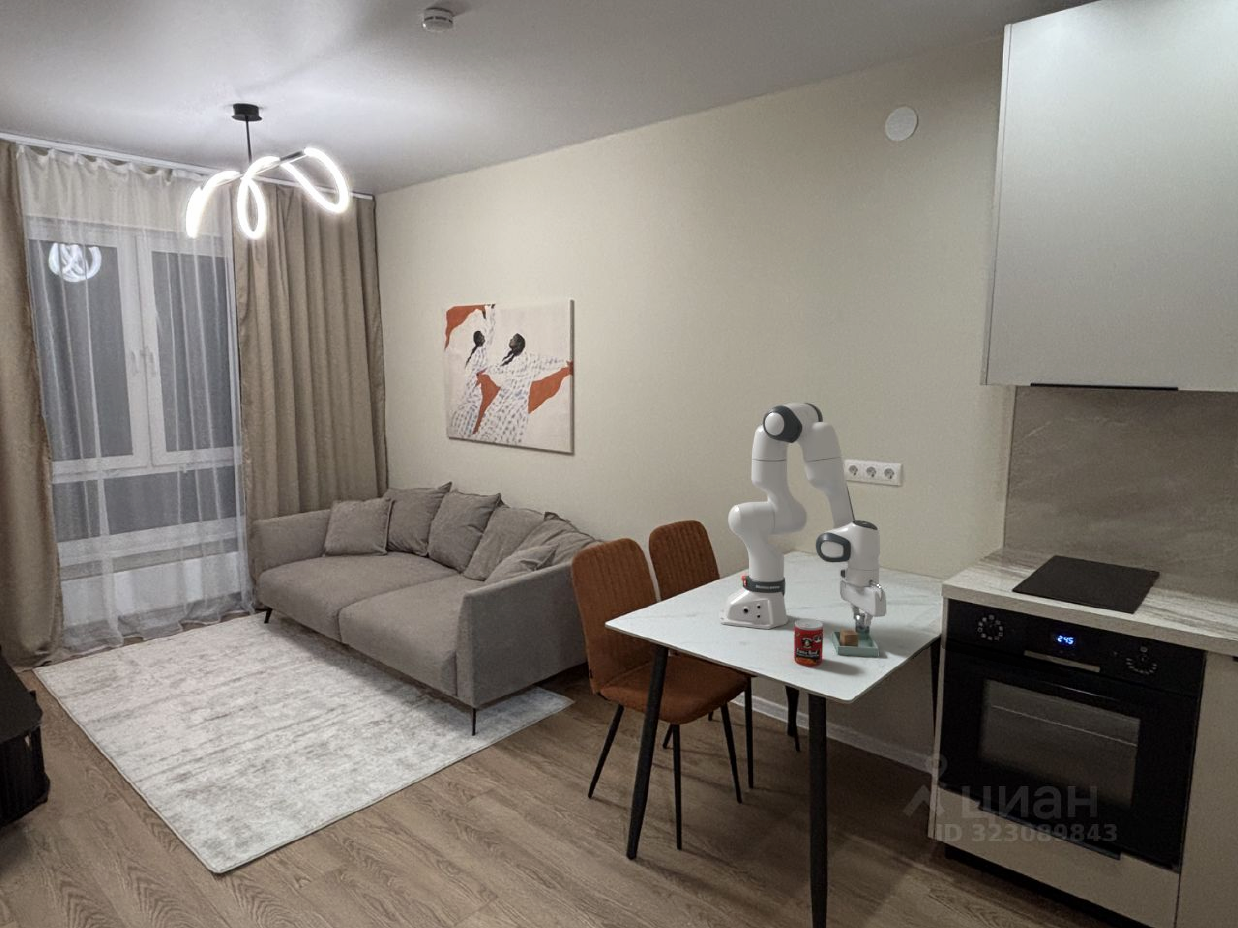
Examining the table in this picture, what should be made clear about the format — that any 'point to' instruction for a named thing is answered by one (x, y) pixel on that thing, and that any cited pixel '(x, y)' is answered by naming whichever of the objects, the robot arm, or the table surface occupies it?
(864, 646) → the tray
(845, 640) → the walnut block
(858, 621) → the metal peg
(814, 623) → the canned food
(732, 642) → the table surface
